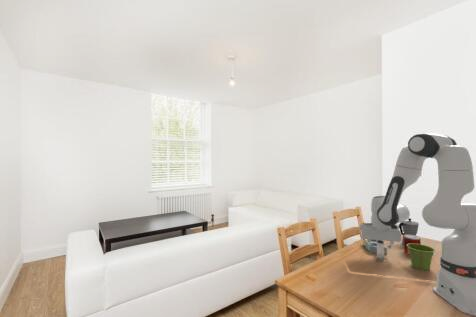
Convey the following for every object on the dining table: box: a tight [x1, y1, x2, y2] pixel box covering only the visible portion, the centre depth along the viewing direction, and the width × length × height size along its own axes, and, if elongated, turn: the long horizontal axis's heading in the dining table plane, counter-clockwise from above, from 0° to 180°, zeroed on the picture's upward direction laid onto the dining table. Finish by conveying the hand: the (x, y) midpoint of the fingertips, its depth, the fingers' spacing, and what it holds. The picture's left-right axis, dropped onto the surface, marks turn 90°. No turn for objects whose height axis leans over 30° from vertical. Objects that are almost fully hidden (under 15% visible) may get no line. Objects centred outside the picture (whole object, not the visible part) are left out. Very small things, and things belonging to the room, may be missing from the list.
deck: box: [370, 253, 391, 264], centre depth 131 cm, size 10×7×1 cm
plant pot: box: [407, 243, 436, 271], centre depth 121 cm, size 12×12×11 cm
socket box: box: [362, 239, 388, 255], centre depth 145 cm, size 16×9×5 cm, turn 165°
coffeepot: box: [398, 217, 420, 246], centre depth 153 cm, size 15×9×18 cm, turn 103°
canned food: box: [403, 235, 422, 256], centre depth 138 cm, size 8×8×11 cm
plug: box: [376, 240, 385, 260], centre depth 131 cm, size 4×4×10 cm
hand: (380, 247), depth 131 cm, fingers open, 8 cm apart
